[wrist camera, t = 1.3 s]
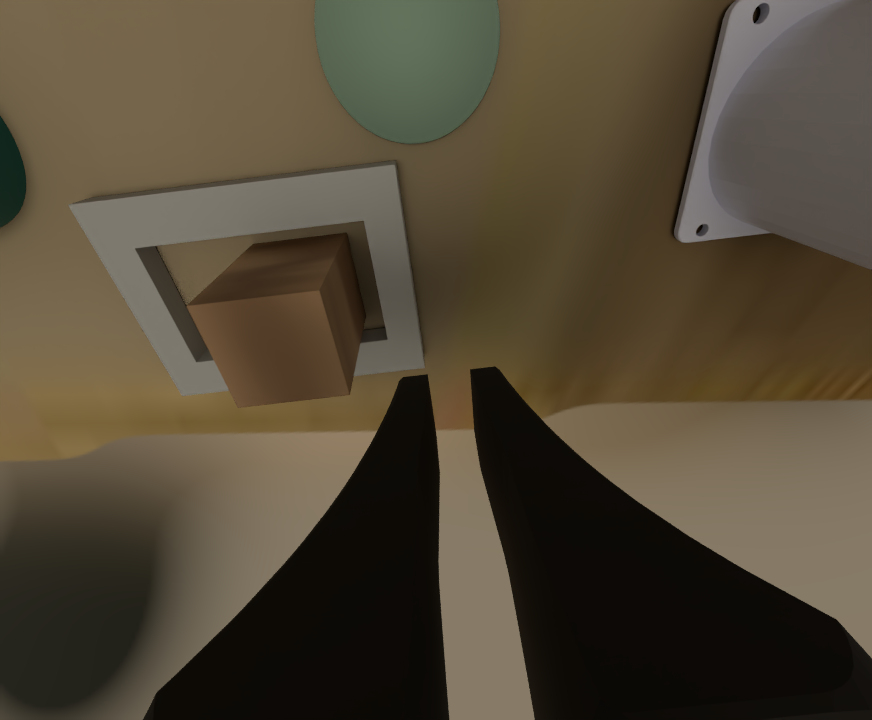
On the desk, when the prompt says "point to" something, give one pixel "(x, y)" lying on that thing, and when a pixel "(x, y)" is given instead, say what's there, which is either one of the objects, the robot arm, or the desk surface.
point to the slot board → (242, 215)
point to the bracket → (10, 176)
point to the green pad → (408, 62)
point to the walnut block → (285, 321)
